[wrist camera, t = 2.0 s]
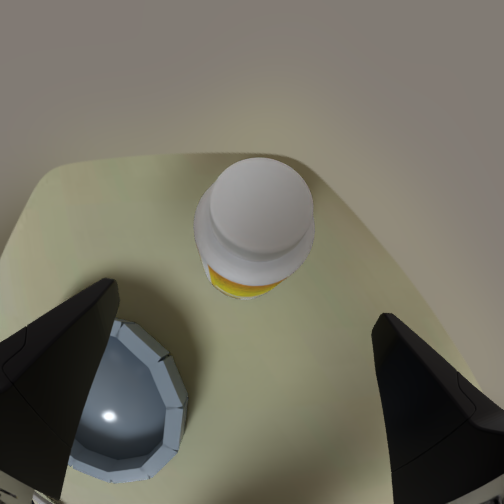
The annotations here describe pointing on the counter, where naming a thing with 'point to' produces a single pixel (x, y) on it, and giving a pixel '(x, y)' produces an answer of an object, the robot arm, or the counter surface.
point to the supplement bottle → (254, 227)
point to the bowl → (131, 410)
